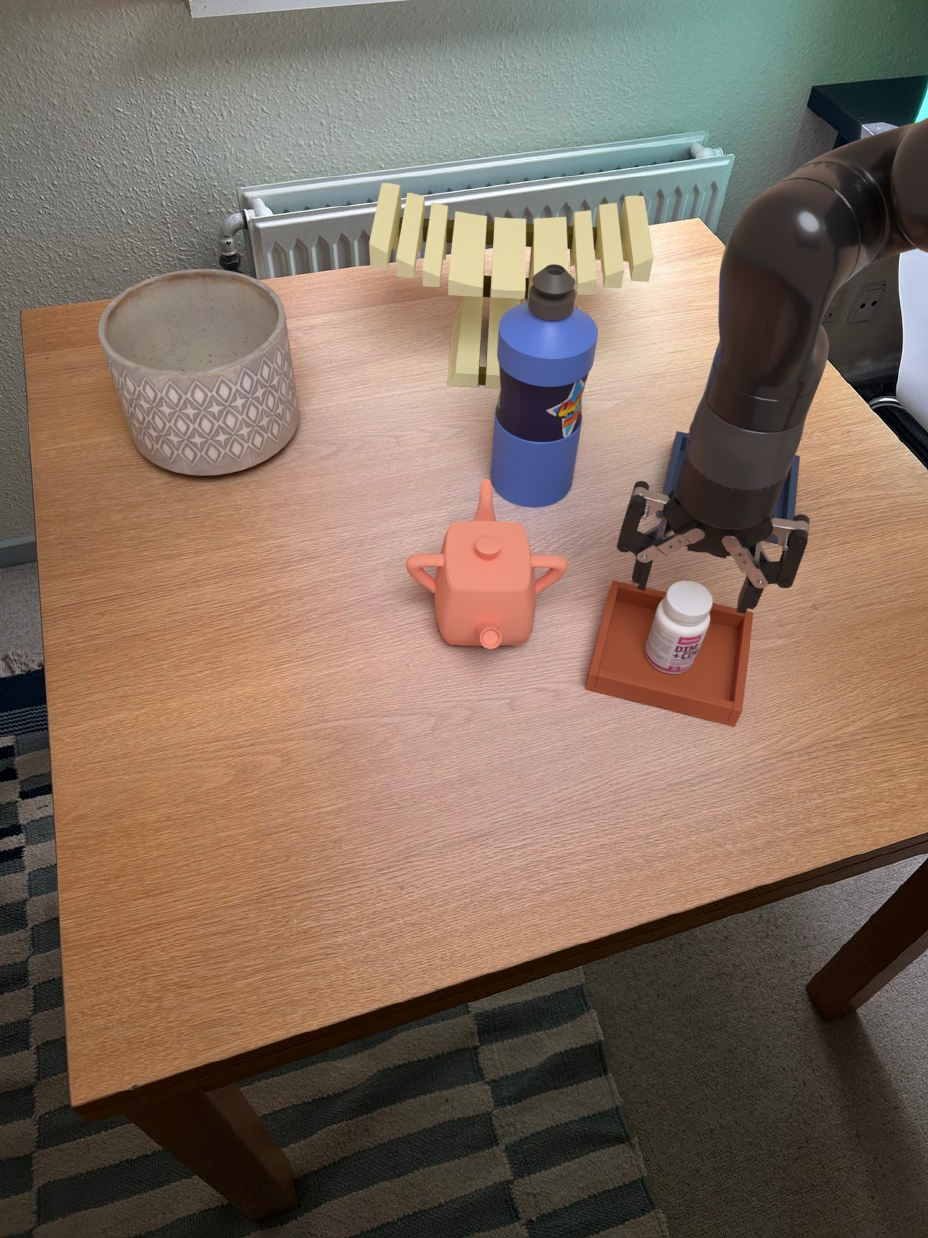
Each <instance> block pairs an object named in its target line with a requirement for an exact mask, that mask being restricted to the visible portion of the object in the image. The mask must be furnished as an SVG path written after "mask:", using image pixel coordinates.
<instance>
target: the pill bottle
mask: <svg viewBox="0 0 928 1238" xmlns="http://www.w3.org/2000/svg"><path fill="white" fill-rule="evenodd" d="M666 592H667V593H666V595H665V597H664V599H663V600H662V601H661V602H660V603H659V605H658V607H657V610H656V614H655V617H654V620H653V623H652V626H651V630H650V633H649V636H648V639H647V641H646V645H645V655H646V658H647V660H648V661H649V663H650V664H651V665H652V666H653V667H654V668H656V669H657V670H659V671H661V672H664V673H668V674H679V673H683V672H685V671H687V670H689V669H690V668H691V667H692V665H693V664H694V662H695V659H696V657H697V654H698V652H699V649H700V647H701V644H702V642H703V639H704V637H705V634H706V632H707V629H708V627H709V623H710V611H711V607H712V604H713V603H714V602H713V595H712V594H711V592H710V591H709V589H708V588H707V587H706V586H704V585H703V584H701V583H699V582H696V581H693V580H678V581H676V582H673V584H671V585H669V587H668V589H667V591H666Z"/></svg>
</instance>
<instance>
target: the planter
mask: <svg viewBox="0 0 928 1238" xmlns="http://www.w3.org/2000/svg"><path fill="white" fill-rule="evenodd" d="M286 316H287V315H286V310H285V305H284V303H283V301H282V300H281V297H280V296H279V295H278V294H277V293H276V291H274V289H273V288H272V287H270V286H269V285H267V284H266V283H264V282H262V281H261V280H259V279H257V278H254V277H252V276H249V275H247V274H244V273H241V272H236V271H231V270H225V269H217V268H216V269H215V268H192V269H182V270H181V269H180V270H176V271H169V272H167V273H161V274H159V275H154V276H153V277H149V278H147V279H144V280H142V281H140V282H137V283H136V284H134V285H131V286H130V287H129V288H126V289H125V290H124V291H122V292H120V293H119V294H118V295H117V296H116V297H114V298H113V299H112V300H111V301H110V302H109V303H108V305H107V306H106V307H105V309H104V310H103V312H102V314H101V315H100V317H99V322H98V326H97V333H98V334H97V335H98V339H99V343H100V345H101V349H102V351H103V354H104V357H105V360H106V363H107V365H108V369H109V372H110V375H111V380H112V381H113V384H114V389H115V390H116V392H117V393H116V394H117V396H118V400H119V403H120V406H121V409H122V411H123V412H122V413H123V415H124V418H125V421H126V423H127V426H128V429H129V433H130V436H131V439H132V442H133V444H134V446H135V447H136V449H137V450H138V451H139V452H140V454H141V455H142V456H143V457H144V458H145V459H146V460H148V461H149V462H150V463H153V464H154V465H156V466H157V467H160V468H162V469H165V470H168V471H169V472H173V473H178V474H183V475H188V476H200V477H201V476H203V477H204V476H220V475H227V474H232V473H236V472H240V471H243V470H247V469H249V468H252V467H255V466H257V465H259V464H261V463H263V462H265V461H266V460H268V459H270V458H272V457H274V455H276V454H277V453H278V452H280V451H281V450H282V449H283V448H285V447H286V445H287V444H288V443H289V442H290V440H291V439H292V438H293V436H294V435H295V432H296V431H297V428H298V425H299V422H300V407H299V401H298V394H297V393H298V392H297V387H296V380H295V373H294V365H293V358H292V351H291V344H290V339H289V338H290V336H289V330H288V323H287V317H286Z"/></svg>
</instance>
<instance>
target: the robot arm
mask: <svg viewBox="0 0 928 1238" xmlns="http://www.w3.org/2000/svg"><path fill="white" fill-rule="evenodd" d="M914 250H920V251H921V252H925V253H926V254H928V117H925V118H924V119H921V120H920V121H917V122H913V123H909V124H905V125H902V126H897V127H894V128H891V129H889V130H885V131H882V132H879V133H875V134H872V135H869V136H866V137H863V138H860V139H857V140H855V141H852V142H849V143H847V144H844V145H841V146H839V147H837V148H834V149H832V150H830V151H828V152H826V153H824V154H821V155H819V156H817V157H814V158H813V159H811V160H809V161H807V162H806V163H804V164H803V165H801V166H800V167H798V168H796V169H795V170H794V171H792V172H791V173H790V174H788V175H786V176H785V177H784V178H782V179H780V180H779V181H778V182H776V183H775V184H773V185H771V187H769V188H767V189H766V190H765V191H763V192H762V193H760V194H759V195H758V196H755V198H753V199H752V200H751V201H750V202H749V203H748V204H747V205H746V206H745V207H744V209H743V210H742V212H741V213H740V215H739V216H738V217H737V219H736V221H735V223H734V225H733V226H732V228H731V230H730V233H729V236H728V238H727V241H726V244H725V246H724V249H723V253H722V257H721V261H720V267H719V278H718V314H717V315H718V317H717V318H718V320H717V321H718V322H717V323H718V335H719V341H718V343H717V346H716V348H715V353H714V356H713V359H712V363H711V367H710V369H709V374H708V376H707V377H708V378H707V381H706V385H705V387H704V388H705V389H704V391H703V394H702V396H701V399H700V400H699V403H698V405H697V407H696V410H695V412H694V415H693V419H692V421H691V423H690V425H689V428H688V433H689V437H688V441H687V444H686V448H685V452H684V455H683V459H682V463H681V467H680V470H679V474H678V478H677V481H676V485H675V488H674V489H673V490H672V491H671V492H670V493H669V494H668V495H664V494H662V493H661V492H656V491H653V490H650V484H649V483H648V482H647V481H645V480H638V481H636V482H635V483H634V485H633V488H632V492H631V493H630V497H629V501H628V504H627V506H626V507H627V508H626V510H625V513H624V517H623V519H622V523H621V527H620V530H619V535H618V539H617V542H616V550H617V551H619V552H620V553H625V554H626V553H631V554H633V555H634V556H635V561H634V566H633V569H632V573H631V581H632V583H634V584H637V585H638V588H637V589H639V590H643V591H645V589H646V588H647V585H648V581H649V578H650V575H651V571H652V568H653V567H652V566H653V562H654V560H655V559H658V558H659V557H660V556H663V555H664V556H670V555H672V554H674V553H675V552H678V551H679V550H681V549H683V548H684V547H685V548H687V549H686V550H687V551H688V552H693V553H705V554H708V555H711V556H713V557H716V558H721V559H724V560H725V559H727V557H732V559H733V561H734V562H735V564H736V565H737V567H738V568H739V570H740V572H741V573H742V574H743V573H745V574H746V576H745V578H744V580H743V583H742V586H741V588H740V590H739V594H738V599H737V605H736V606H737V607H736V608H737V612H739V613H743V614H745V613H746V611H748V609H749V610H752V611H753V610H754V609H755V608H757V606H758V604H759V602H760V599H761V597H762V595H763V592H764V589H765V588H766V587H768V586H769V585H777V587H779V588H781V589H790V588H791V587H793V585H794V582H795V579H796V577H797V574H798V571H799V569H800V566H801V562H802V559H803V556H804V553H805V551H806V548H807V545H808V541H809V531H810V518H809V516H808V515H806V514H803V513H799V514H795V517H794V518H793V520H786V519H780V518H774V515H773V510H774V508H775V505H776V503H777V500H778V498H779V495H780V492H781V490H782V487H783V485H784V482H785V480H786V477H787V475H788V472H789V470H790V467H791V465H792V462H793V460H794V457H795V455H797V451H798V450H799V446H800V443H801V440H802V438H803V434H804V428H805V423H806V419H807V416H808V413H809V411H810V408H811V406H812V403H813V401H814V398H815V395H816V393H817V390H818V388H819V385H820V382H821V381H822V377H823V375H824V372H825V369H826V365H827V361H828V358H829V349H830V342H829V338H828V334H827V332H826V330H825V328H824V326H823V325H822V324H823V320H824V317H825V314H826V312H827V310H828V308H829V306H830V304H831V302H832V300H833V299H834V297H835V296H836V293H837V291H839V290H840V289H841V288H842V287H843V286H844V285H845V284H846V283H848V282H849V281H850V280H851V279H852V278H854V277H855V276H856V275H857V274H858V273H860V272H861V271H862V270H863V269H865V268H867V267H869V266H871V265H874V264H877V262H880V261H882V260H885V259H887V258H890V257H893V256H897V255H899V254H903V253H906V252H910V251H914ZM658 511H663V515H664V517H665V518H663V519H662V518H661V520H660V522H659V523H658V524H657V525H656V526H653V527H651V528H650V529H649V530H647V531H645V532H642V531H640V530H638V529H639V526H640V523H641V520H642V521H647V520H648V518H651V517H652V516H653V515H654V513H656V512H658ZM771 534H773V535H775V536H776V537H777V538H778V545H779V546H780V547H781V549H782V550H781V554H780V557H779V560H770V559H769V557H768V555H767V553H766V552H765V550H764V548H763V546H762V542H764V541H763V540H765V539H767V538H768V537H769V536H770V535H771Z"/></svg>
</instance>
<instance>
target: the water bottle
mask: <svg viewBox="0 0 928 1238" xmlns="http://www.w3.org/2000/svg"><path fill="white" fill-rule="evenodd" d="M532 283H533V285H532V286H531V287H530V290H529V300H528V302H523V303H520V304H519V305H517V306H515V307H513V308H511V309H510V310H508V311H507V312H506V313H505V314H504V315H503V316H502V318H501V320H500V322H499V331H498V346H497V358H498V362H499V372H500V387H501V388H499V389H500V390H499V394H498V399H497V402H496V405H495V409H494V417H493V432H492V446H491V460H490V461H491V464H490V475H489V478H490V479H489V480H490V482H491V484H492V489H493V490H494V491H495V492H496V493H497V494H498V496H500V498H502V499H503V500H505V501H507V502H509V503H511V504H513V505H516V506H521V507H525V508H543V507H549V506H552V505H555V504H557V503H558V502H560V501H562V500H563V499H564V498H566V497H567V496H568V494H569V493H570V491H571V490H572V486H573V480H574V475H575V469H576V462H577V455H578V450H579V445H580V444H579V443H580V437H581V430H582V424H583V403H582V402H583V399H582V397H583V393H584V391H585V388H586V384H587V381H588V377H589V374H590V371H591V370H592V368H593V365H594V361H595V357H596V356H595V355H596V349H597V343H598V337H599V329H598V326H597V323H596V321H595V320H594V319H593V318H592V317H591V316H590V315H589V314H588V313H587V312H585V311H584V310H582V309H581V308H579V307H576V306H575V302H576V295H577V292H576V289H575V287H576V278H574V277H573V276H572V275H571V273H570V272H569V273H568V272H567V271H566V269H565V268H564V267H562V266H560V265H557V264H552V265H548V266H547V267H545V268H544V269H542V270H541V271H539V272H538V273H536V274H535V275H534V276H533V278H532Z"/></svg>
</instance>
